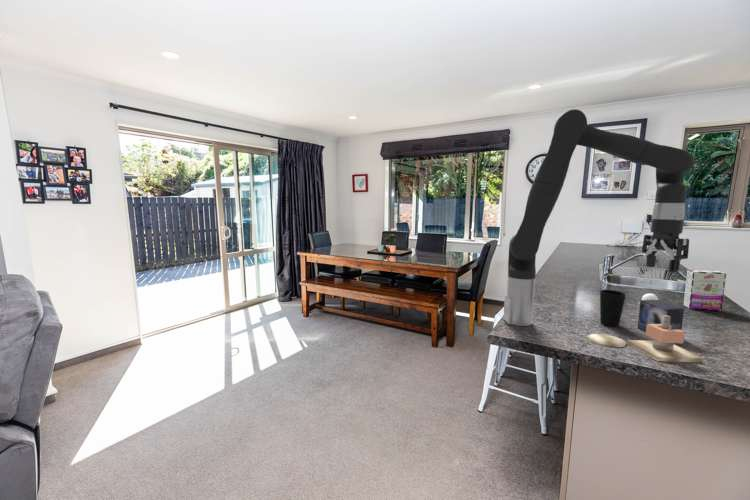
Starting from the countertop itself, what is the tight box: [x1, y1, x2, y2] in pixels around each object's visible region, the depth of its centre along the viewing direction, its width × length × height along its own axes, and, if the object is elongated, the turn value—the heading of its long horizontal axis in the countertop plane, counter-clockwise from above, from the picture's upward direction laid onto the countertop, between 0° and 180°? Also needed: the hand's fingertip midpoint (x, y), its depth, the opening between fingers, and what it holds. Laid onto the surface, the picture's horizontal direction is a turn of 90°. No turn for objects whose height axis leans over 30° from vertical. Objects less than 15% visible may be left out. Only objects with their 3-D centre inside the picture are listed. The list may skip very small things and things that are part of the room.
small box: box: [637, 299, 685, 332], centre depth 114 cm, size 11×6×10 cm, turn 5°
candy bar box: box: [683, 269, 727, 311], centre depth 141 cm, size 11×5×16 cm, turn 73°
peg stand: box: [626, 315, 703, 363], centre depth 98 cm, size 12×12×11 cm
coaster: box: [588, 333, 627, 348], centre depth 108 cm, size 10×10×1 cm
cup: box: [599, 289, 626, 328], centre depth 122 cm, size 8×8×12 cm
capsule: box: [641, 293, 659, 300], centre depth 136 cm, size 5×5×8 cm
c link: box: [645, 324, 685, 344], centre depth 98 cm, size 6×6×4 cm
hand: (661, 269), depth 106 cm, fingers open, 8 cm apart
